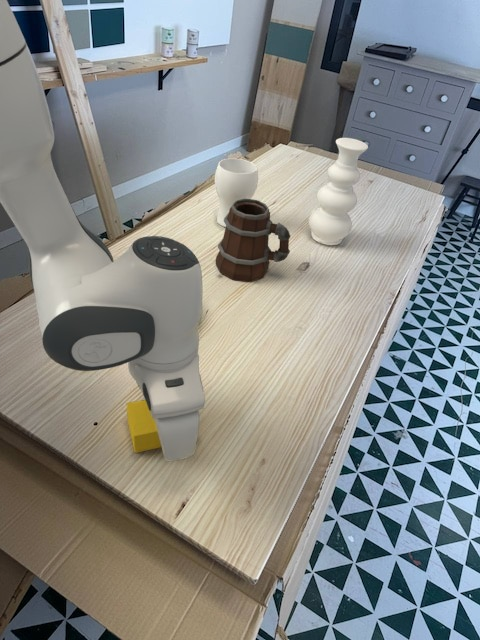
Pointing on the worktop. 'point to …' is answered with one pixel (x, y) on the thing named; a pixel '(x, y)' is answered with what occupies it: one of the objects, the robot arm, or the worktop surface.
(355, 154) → the vase
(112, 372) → the worktop surface
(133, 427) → the yellow block
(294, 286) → the worktop surface
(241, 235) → the mug
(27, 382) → the worktop surface
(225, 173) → the cup
